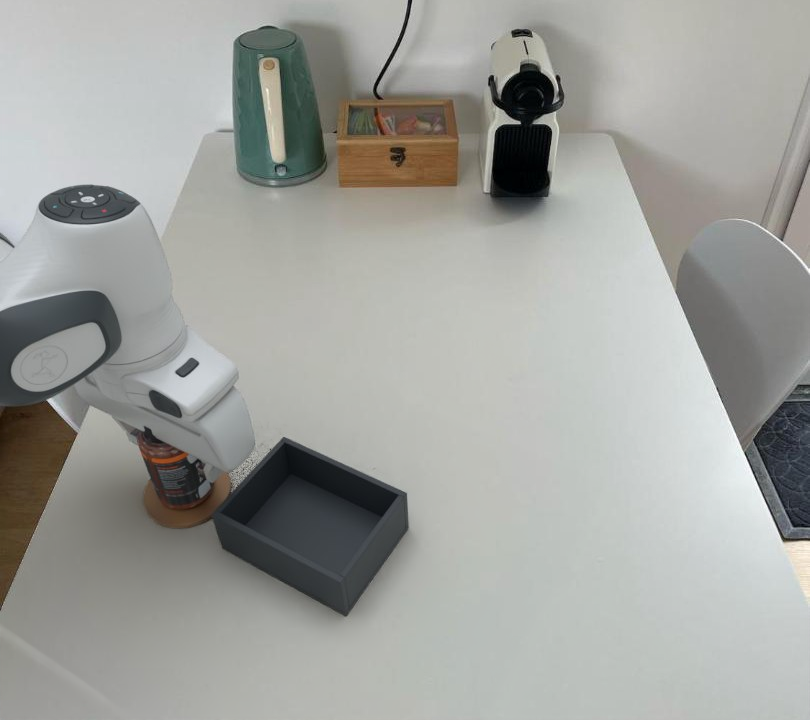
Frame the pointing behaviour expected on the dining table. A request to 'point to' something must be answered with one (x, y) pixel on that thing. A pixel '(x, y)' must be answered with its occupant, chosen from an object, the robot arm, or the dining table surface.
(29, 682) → the dining table surface
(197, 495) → the supplement bottle
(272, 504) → the bin
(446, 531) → the dining table surface
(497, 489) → the dining table surface
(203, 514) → the coaster
